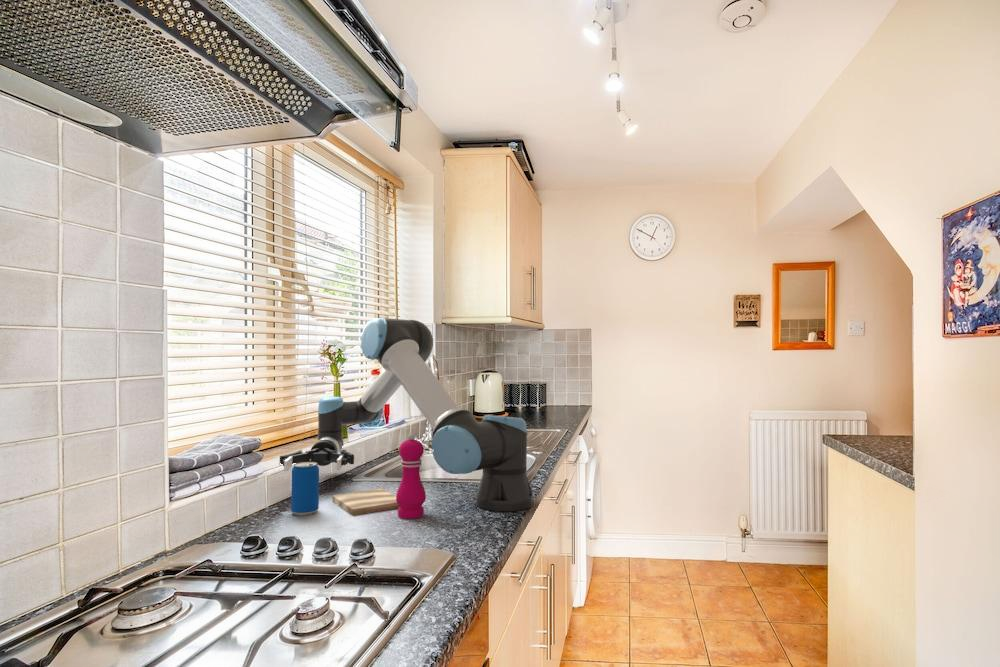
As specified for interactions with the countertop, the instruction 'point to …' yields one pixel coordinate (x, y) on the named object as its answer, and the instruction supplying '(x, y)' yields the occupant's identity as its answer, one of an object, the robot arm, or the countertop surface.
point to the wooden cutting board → (366, 501)
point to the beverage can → (305, 488)
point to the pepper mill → (411, 480)
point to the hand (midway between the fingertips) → (312, 465)
